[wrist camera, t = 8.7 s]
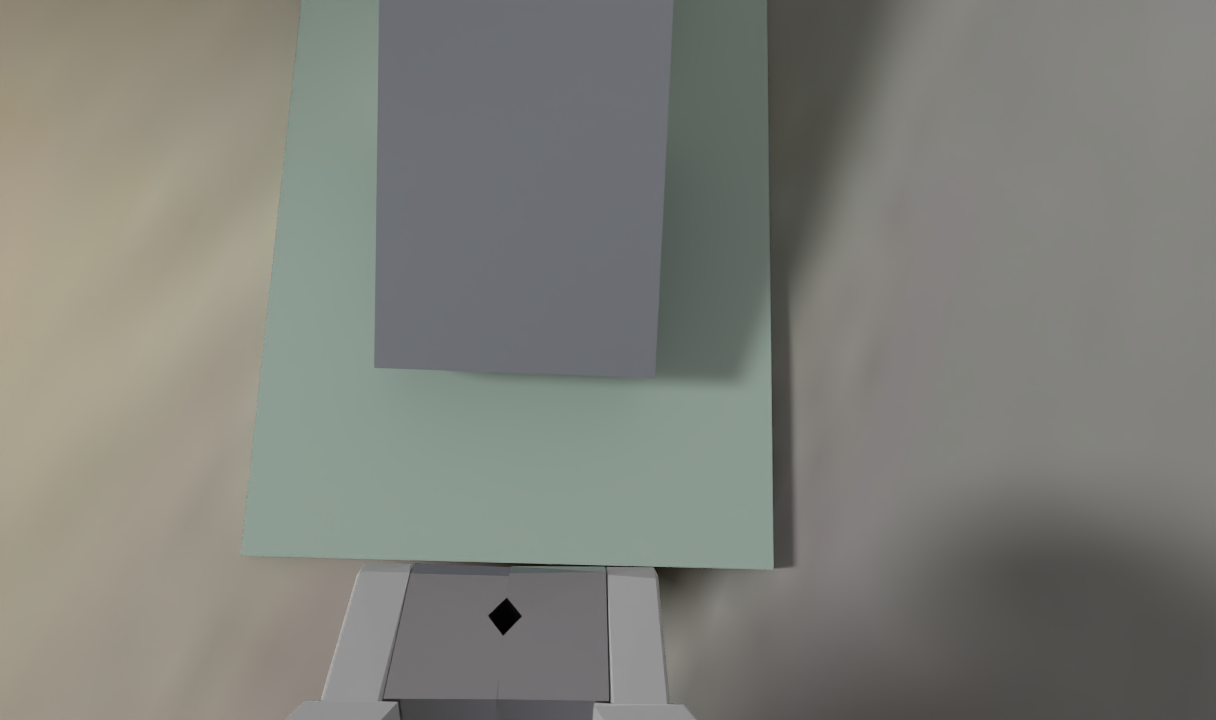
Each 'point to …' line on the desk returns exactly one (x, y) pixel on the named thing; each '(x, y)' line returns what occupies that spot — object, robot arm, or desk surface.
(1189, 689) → the desk surface
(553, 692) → the robot arm
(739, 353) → the mat
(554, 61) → the domino
